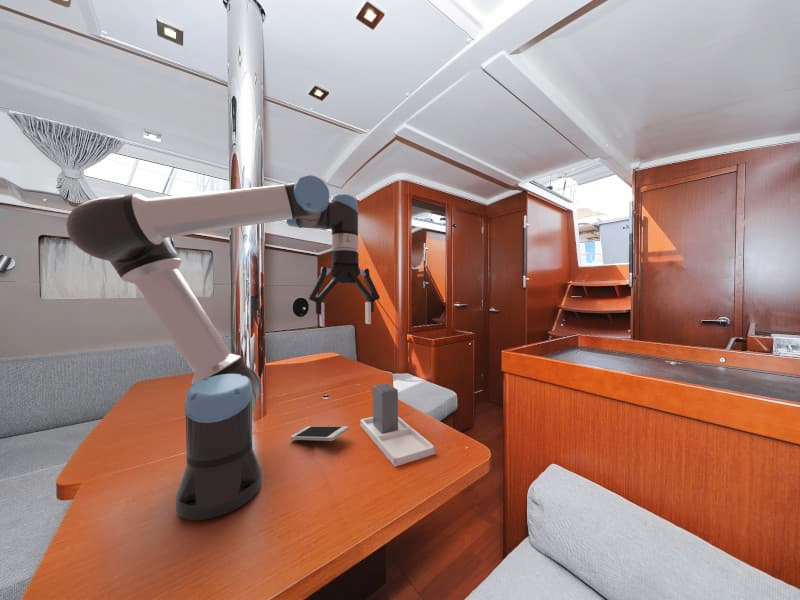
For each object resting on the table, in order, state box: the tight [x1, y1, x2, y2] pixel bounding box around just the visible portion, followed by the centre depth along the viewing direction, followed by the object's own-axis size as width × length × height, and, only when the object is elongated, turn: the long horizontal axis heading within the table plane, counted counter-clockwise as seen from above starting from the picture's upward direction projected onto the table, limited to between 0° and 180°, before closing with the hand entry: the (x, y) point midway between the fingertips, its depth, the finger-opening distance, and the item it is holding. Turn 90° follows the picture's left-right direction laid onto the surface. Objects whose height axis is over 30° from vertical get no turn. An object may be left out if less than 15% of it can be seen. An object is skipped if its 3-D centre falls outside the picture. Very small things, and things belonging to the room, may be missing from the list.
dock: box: [359, 383, 436, 468], centre depth 80 cm, size 11×24×13 cm, turn 27°
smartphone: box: [289, 425, 349, 442], centre depth 79 cm, size 7×15×1 cm, turn 63°
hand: (345, 325), depth 82 cm, fingers open, 13 cm apart
